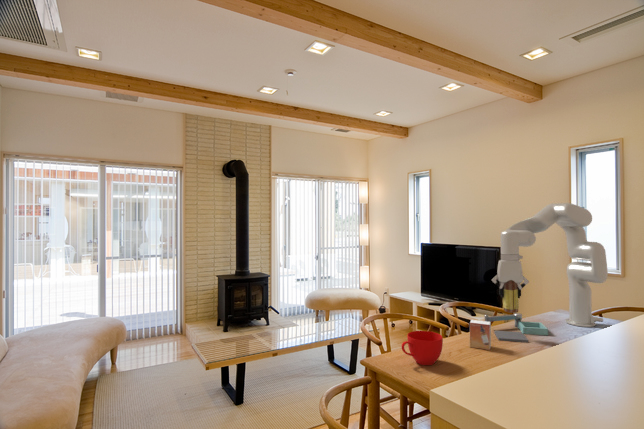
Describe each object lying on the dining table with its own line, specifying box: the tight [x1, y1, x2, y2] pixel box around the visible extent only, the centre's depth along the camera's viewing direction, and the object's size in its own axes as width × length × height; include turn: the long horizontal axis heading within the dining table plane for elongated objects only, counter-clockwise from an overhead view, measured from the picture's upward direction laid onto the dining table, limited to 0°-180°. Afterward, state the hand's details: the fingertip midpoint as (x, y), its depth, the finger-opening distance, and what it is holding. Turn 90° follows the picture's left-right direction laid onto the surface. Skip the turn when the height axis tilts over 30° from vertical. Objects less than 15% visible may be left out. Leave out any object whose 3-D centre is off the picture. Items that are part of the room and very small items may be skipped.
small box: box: [469, 319, 492, 351], centre depth 161 cm, size 8×6×10 cm
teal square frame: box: [514, 319, 549, 336], centre depth 184 cm, size 12×14×4 cm
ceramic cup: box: [401, 330, 444, 366], centre depth 144 cm, size 13×17×10 cm
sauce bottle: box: [502, 280, 519, 314], centre depth 174 cm, size 7×6×20 cm
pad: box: [493, 330, 529, 343], centre depth 174 cm, size 12×12×1 cm
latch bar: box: [483, 312, 523, 322], centre depth 189 cm, size 4×21×3 cm, turn 104°
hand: (510, 297), depth 174 cm, fingers closed on sauce bottle, 6 cm apart
